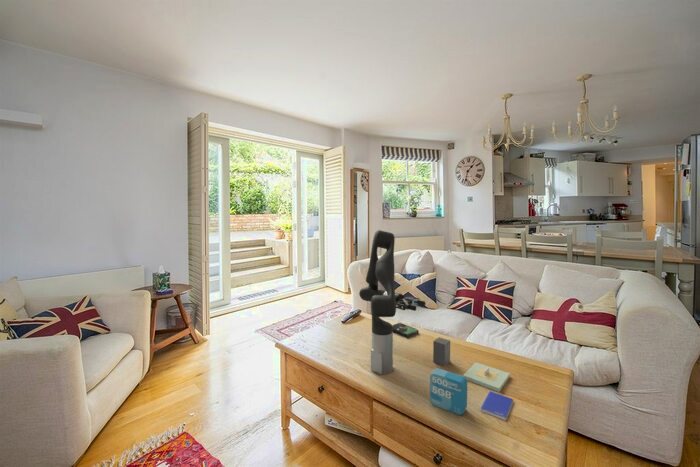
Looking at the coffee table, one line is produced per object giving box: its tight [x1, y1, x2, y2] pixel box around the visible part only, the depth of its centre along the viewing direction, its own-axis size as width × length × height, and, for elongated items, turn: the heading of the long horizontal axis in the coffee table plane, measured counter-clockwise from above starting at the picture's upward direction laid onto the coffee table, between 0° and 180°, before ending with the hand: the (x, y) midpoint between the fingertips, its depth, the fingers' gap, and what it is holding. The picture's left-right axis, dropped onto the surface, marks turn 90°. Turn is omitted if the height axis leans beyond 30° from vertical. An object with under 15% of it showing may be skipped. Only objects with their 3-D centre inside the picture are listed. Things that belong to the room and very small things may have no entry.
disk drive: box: [392, 322, 419, 339], centre depth 173 cm, size 10×3×15 cm
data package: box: [429, 368, 468, 416], centre depth 107 cm, size 12×4×12 cm, turn 54°
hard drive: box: [479, 391, 514, 421], centre depth 108 cm, size 2×8×12 cm
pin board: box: [462, 362, 511, 393], centre depth 125 cm, size 14×14×4 cm
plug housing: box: [432, 336, 451, 367], centre depth 138 cm, size 6×6×10 cm
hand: (420, 306), depth 144 cm, fingers open, 8 cm apart
